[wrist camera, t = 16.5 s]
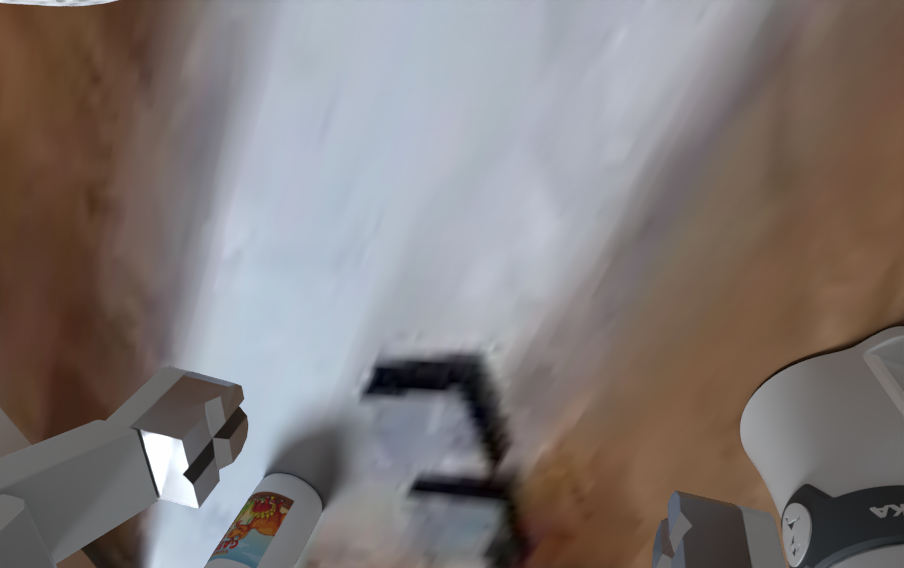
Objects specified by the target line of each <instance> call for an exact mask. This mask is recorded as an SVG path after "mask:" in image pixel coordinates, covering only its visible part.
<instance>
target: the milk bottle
mask: <svg viewBox="0 0 904 568" xmlns="http://www.w3.org/2000/svg"><path fill="white" fill-rule="evenodd" d="M321 513H322V502H321V499H320V497H319V495H318V494H317V492H316V491H315V490H314V489H313V488H312V487H311V486H310V485H309V484H307V483H306V482H305V481H303V480H301V479H299V478H297V477H295V476H292V475H288V474H283V473H275V474H271V475H269V476H267V477H265V478H264V479H262V480H261V482H260V483H259V485H258V486H257V487H256V489H255V490H254V492H253V493H252V495H251V496H250V498H249V499H248V501H247V502H246V504H245V505H244V507H243V508H242V510H241V511H240V513H239V514H238V516H237V517H236V519H235V520H234V522H233V523H232V525H231V526H230V528H229V529H228V531H227V532H226V534H225V535H224V537H223V539H222V540H221V542H220V543H219V545H218V546H217V548H216V549H215V551H214V552H213V554H212V556H211V557H210V559H209V560H208V562H207V564H206V565H205V567H204V568H294V566H295V564H296V562H297V560H298V558H299V556H300V554H301V552H302V551H303V549H304V547H305V545H306V543H307V541H308V539H309V537H310V535H311V533H312V531H313V530H314V528H315V526H316V524H317V522H318V520H319V518H320V516H321Z"/></svg>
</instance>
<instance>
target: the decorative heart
mask: <svg viewBox="0 0 904 568" xmlns="http://www.w3.org/2000/svg"><path fill="white" fill-rule="evenodd" d="M112 1H117V0H0V3H11V4H31V5H46V6H84V5H94V4H102V3H108V2H112Z"/></svg>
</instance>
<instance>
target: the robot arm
mask: <svg viewBox="0 0 904 568" xmlns="http://www.w3.org/2000/svg"><path fill="white" fill-rule="evenodd" d="M243 400H244V396H243V391H242V386H240V385H238V384H235V383H232V382H228V381H224V380H221V379H217V378H213V377H210V376H206V375H202V374H199V373H195V372H190V371H186V370H183V369H179V368H175V367H171V366H168V367H165V368H162V369H160V370H159V371H158V372H157V373H156V374H155V375H154V376H153V377H152V378H151V379H150V380H148V381H147V382H146V383H145V384H144V385H143V386H142V387H141V388H140V389H139V390H138V391H137V392H136V393H135V394H134V395H132V396H131V397H130V398H129V399H128V400H127V401H126V402H125V403H124V404H123V405H122V406H121V407H120V408H119V409H118V410H117V411H115V412H114V413H113V414H112V415H111V416H110V417H109V418H108V419H107V420H106V421H102V420H96V421H93V422H91V423H88V424H86V425H83V426H81V427H78V428H75V429H73V430H70V431H68V432H65V433H63V434H60V435H58V436H55V437H52V438H50V439H47V440H45V441H42V442H40V443H37V444H35V445H32V446H30V447H27V448H24V449H22V450H19V451H17V452H14V453H12V454H9V455H7V456H4V457H1V458H0V568H57V566H56V563H58V562H59V561H61V560H63V559H64V558H66V557H68V556H69V555H71V554H72V553H74V552H76V551H77V550H79V549H81V548H82V547H84V546H85V545H87V544H89V543H90V542H92V541H94V540H95V539H97V538H98V537H100V536H102V535H103V534H105V533H107V532H108V531H110V530H111V529H113V528H115V527H116V526H118V525H119V524H121V523H123V522H124V521H126V520H128V519H129V518H131V517H132V516H134V515H136V514H137V513H139V512H141V511H142V510H144V509H145V508H147V507H149V506H150V505H152V504H154V503H155V502H157V501H158V499H157V498H159V499H163V500H167V501H171V502H175V503H179V504H182V505H186V506H190V507H194V508H198V509H199V508H200V506H201V505H202V504H203V502H204V501H205V500H206V498H207V497H208V496H209V494H210V493H211V492H212V490H213V489H214V488H215V486H216V485H217V484H218V482H219V481H220V479H219V470H220V469H221V468H223V467H225V466H227V465H229V464H231V463H233V462H234V461H235V459H236V458H237V456H238V455H239V453H240V452H241V450H242V448H243V445H244V443H245V440H246V438H247V432H248V420H247V415H246V414H245V413H244V412H243V410H242V409H241V408H240V407H239V405H240V404H241V402H242V401H243ZM740 435H741V440H742V444H743V447H744V449H745V451H746V453H747V455H748V456H749V458H750V459H751V461H752V462H753V464H754V465H755V466H756V468H757V469H758V471H759V473H760V474H761V476H762V478H763V480H764V481H765V483H766V485H767V487H768V489H769V491H770V494H771V496H772V498H773V500H774V503H775V505H776V508H777V510H778V512H779V515H780V518H781V528H782V534H783V541H784V547H785V552H786V556H787V559H788V563H789V567H790V568H904V326H898V327H893V328H889V329H886V330H884V331H882V332H880V333H878V334H876V335H874V336H872V337H870V338H868V339H867V340H865V341H863V342H861V343H860V344H858V345H856V346H855V347H852V348H850V349H847V350H843V351H840V352H835V353H831V354H827V355H822V356H818V357H815V358H811V359H808V360H805V361H803V362H800V363H798V364H795V365H793V366H791V367H789V368H787V369H785V370H783V371H781V372H780V373H778V374H776V375H775V376H773V377H772V378H771V379H769V380H768V381H767V382H766V383H764V384H763V385H762V386H761V387H760V388H759V389H758V390H757V391H756V392H755V393H754V395H753V396H752V397H751V399H750V400H749V402H748V403H747V405H746V407H745V410H744V412H743V415H742V418H741V424H740ZM652 568H786V564H785V560H784V556H783V552H782V548H781V544H780V540H779V536H778V532H777V528H776V524H775V520H774V518H773V516H772V515H771V514H770V513H768V512H764V511H760V510H756V509H752V508H748V507H743V506H739V505H737V506H736V505H735V504H732V503H727V502H723V501H719V500H715V499H710V498H706V497H702V496H697V495H693V494H689V493H685V492H680V491H675V492H674V493H673V494H672V495H671V497H670V500H669V502H668V518H666V519H664V520H662V521H661V522H660V524H659V527H658V530H657V533H656V537H655V542H654V547H653V559H652Z"/></svg>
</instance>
